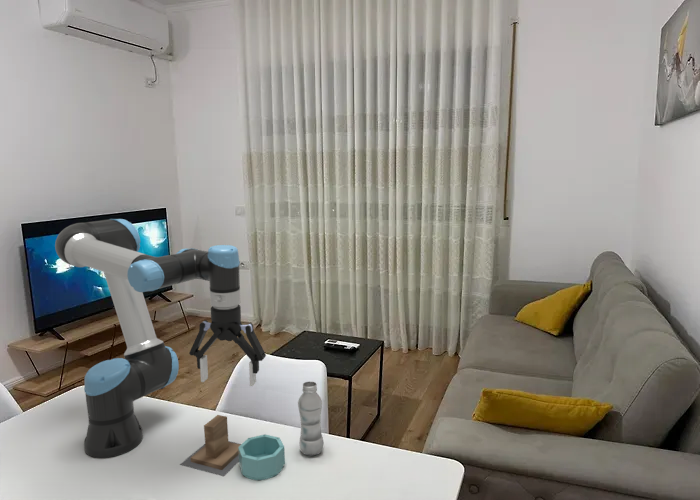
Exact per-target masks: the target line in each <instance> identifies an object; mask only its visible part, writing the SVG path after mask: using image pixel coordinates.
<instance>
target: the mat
mask: <svg viewBox="0 0 700 500" xmlns="http://www.w3.org/2000/svg"><path fill="white" fill-rule="evenodd" d="M228 442H231V443H235V444H239V445H241V444H242V443H238V442H234V441H229V440H228ZM204 446H205V443H204V444H203V445H201V446H200V447H199V448H198V449H197V450H196V451H194V452H193V453H192V454H191V455H190V456H188V457H187V458H185V460H184V461H182V462H181V463H180V464H179V465H180V466H183V467H187V468H190V469H194V470H198V471H202V472H205V473H209V474H212V475H217V476H222V477H225V476H226V475H227V474H228V473H229V472H230V471H231V470H232V469H233V468H234V467H236V465H237V464H238V463H239V454H238V455H237V456H236V457H235V458H234V459H233V460H232V461H231V462H230V463H229V464H228V465H227V466H226V467H225V468H224V469H223V470H220V469H216V468H212V467H208V466H205V465H201V464H197V463H193V462H191V457H192V456H193V455H195V454H196V453H197V452H198V451H199V450H201V449H202V448H203V447H204Z"/></svg>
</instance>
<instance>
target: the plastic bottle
mask: <svg viewBox="0 0 700 500" xmlns="http://www.w3.org/2000/svg"><path fill="white" fill-rule="evenodd" d="M317 384H318V383H316V381H305V382H304V383H302V393H301V395H300V396H299V398H298V401H297V407H298V413H299V421H300V436H299V450H300V451H301V452H302V454H304V455H306V456H309V457H310V456H311V457H312V456H316V455H318V454H321V452H322V451H323V449H324V437H323V433H322V426H321V425H322V423H321V422H322V421H321V420H322V416H321V415H322V408H323V407H322V406H323V401H322V400H323V399H322V398H321V396H320V395H319V394H318V392H317V391H318V385H317Z"/></svg>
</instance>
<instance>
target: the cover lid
mask: <svg viewBox="0 0 700 500" xmlns="http://www.w3.org/2000/svg"><path fill="white" fill-rule="evenodd" d="M203 429H204V444H205V446H204V447H203V448H202V449H201V450H199V451H198V452H197V453H196V454H195V455H193V456H192V457H191V462H193V463H197V464H201V465H205V466H208V467H212V468H216V469H220V470H223V469H224V468H225V467H226V466H227V465H228V464H229V463H230V462H231V461H232V460H233V459H234V458H235V457H236V456H237V455H238V454H239V450H238V447H239V446H240V445H239V444H240V443H239V444H235V443H236V442H235V443H231V442H232V441H230V442H228V441H229V430H228V416H226V415H225V416H224V415H221V414H217V415H215V416H214V417H213V418H212V419H210V420H209V421H208V422H207V423H205V424H204V425H203Z"/></svg>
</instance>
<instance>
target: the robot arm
mask: <svg viewBox="0 0 700 500" xmlns="http://www.w3.org/2000/svg"><path fill="white" fill-rule="evenodd" d="M140 243H141V238H140V235H139V232H138V229H136V227H135V225H134V224H133V223H132V222H131V221H128V220H127V219H123V218H109V219H102V220H95V221H87V222H76V223H72V224H70V225H68V226H66V227H65V228H63V229H62V230H61V231H60V232H59V233H58V235H57V237H56V239H55V244H54V247H55V248H54V249H55V252H56V255H57V256H58V258H59V259H60V260H61V261H63V262H64V263H65V264H68V265H70V266H72V267H76V268H84V267H88V268H90V269H94V270H97V271H100V272H103V274H104V278H105V280H106V282H107V283H106V284H107V287H108V290H109V293H110V296H111V300H112V302H113V306H114V308H115V312H116V315H117V320H118V321H119V322H118V323H119V324H120V328H121V331H122V335H123V337H124V341H125V344H126V350H125V351H124V353H123V357H124V358H123V357H120V358H119V357H116V358H112V359H107V360H103V361H100V362H99V363H96V364H95V365H93V366H92V367H90V368H89V369H88V371H86V373H85V375H84V389H83V390H84V393H85V401H86V410H87V418H88V425H87V429H86V436H85V438H84V442H83V445H84V447H83V448H84V452H85V453H86V455H87V456H89V457H92V458H97V459H100V458H101V459H103V458H104V459H105V458H111V457H117V456H119V455H122V454H125V453H128V452H130V451H132V450H133V449H136V447H138V446H139V445H140V444H141V442H142V441H143V438H144V435H143V433H144V432H143V428H142V426H141V424H140V422H139V420H138V418H137V415H136V414H135V409H134V408H135V407H134V401H136V400H138V399H141V398H143V397H145V396H148V395H150V394H151V393H154V392H156V391H159V390H162V389H164V388H165V387H167V386H169V385H171V384H172V383H174V381H175V380H176V379H177V376H178V375H179V368H180V366H179V365H180V364H179V358H178V355H177V353H176V352H175V351H174V349H173V348H172V347H170V346H166V345H165V343H164V341H163V340H162V339H160V338H158V337H157V334H156V331H155V329H154V325H153V321H152V319H151V315H150V312H149V308H148V306H147V302H146V300H145V296H144V293H145V292H155V291H157V290H158V289H159V290H160V289H163V288H166V287H171V286H173V285H174V286H175V285H177V284H181V283H185V282H189V281H193V280H202V281H207V282H209V298H210V303H209V304H210V306H211V307H210V319H211V322H209V320H207V319H205V320H203V321H201V322H200V323H199V328H198V333H197V335H196V337H195V339H194V342H193V344H192V347H191V348H190V350H189V353H188V354H189V355H190V356H194V357H196V367H197V369H198V370H199V371H200V382H201V383H205V381H206V380H207V379H208V378H209V371H208V370H209V369H208V368H209V367H208V366H209V365H208V355H207V354H205V353H206V352H207V351H208V350H209V349H210V348H211V346H212V345H213V344H214V343H215V342H216V340H217V339H218V340H219V341H221V342H222V341H223V342H224V341H228V342H232V341H233V342H234V343H235V344H237V345H238V346H239V348H240V349H241V350H242V351H243V352H244V354H245V355H246V356H247V357H248V358H249V359H250V361H249V363H248V368H249V369H248V370H249V386H250V387H253V386H254V385H255V384H256V383H257V374H258V373H259V371H260V362H262V361H263V360H264V359H265V358H266V356H267V353H266V352H265V350H264V348H263V347H262V344H261V342H260V341H259V338H258V337H257V335H256V333H255V329H254V324H253V323H251V322H250V323H248V324H242V311H241V308H242V307H241V305H240V304H241V287H240V265H241V264H240V256H239V249H238V247H236V246H234V245H231V244H217V245H211V246H210V247H209V248H208V250H201V249H198V248H197V249H196V248H193V247H192V248H187V247H186V248H181V249H180V250H178V251H177V252H176V253H174V254H168V255H167V254H166V255H163V256H154V255H153V256H152V255H149V254H146V253H142V252H140V247H141V244H140ZM208 330H211V331H212V333H213V334H212V335H211V336H210V337H209V339H208V340H207V341H206V343H205V344H204V345H203V346H202V347H201V344H202V343H203V340H204V338H205V336H206V334H207V331H208ZM242 331H243V333H244V334H246V337H247V339H248V341H249V342H248V341H247V339H246V338H245V335H244V334H243V333H242ZM200 347H201V348H200ZM199 348H200V349H199Z"/></svg>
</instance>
